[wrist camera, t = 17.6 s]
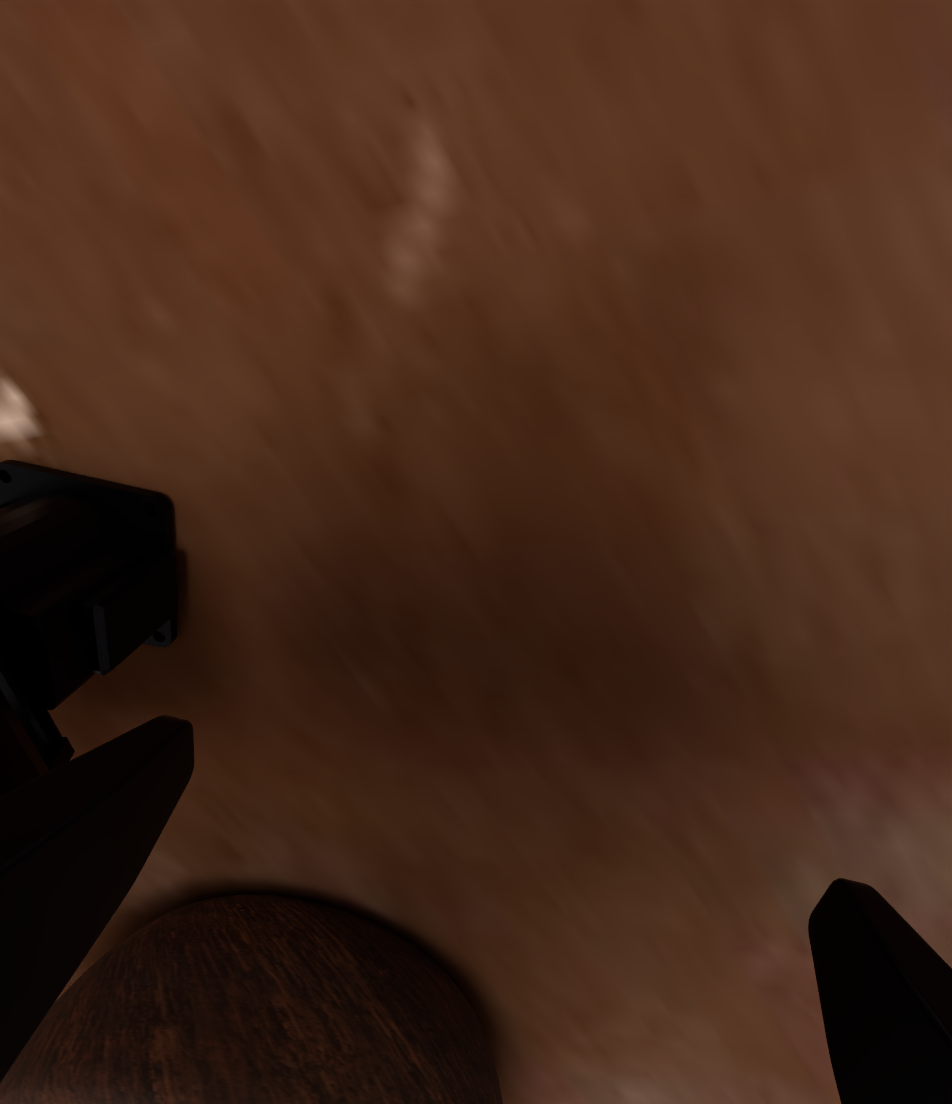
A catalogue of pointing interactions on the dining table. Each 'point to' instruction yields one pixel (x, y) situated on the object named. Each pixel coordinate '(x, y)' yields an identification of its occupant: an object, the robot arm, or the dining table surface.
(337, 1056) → the wooden bowl
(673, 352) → the dining table surface
